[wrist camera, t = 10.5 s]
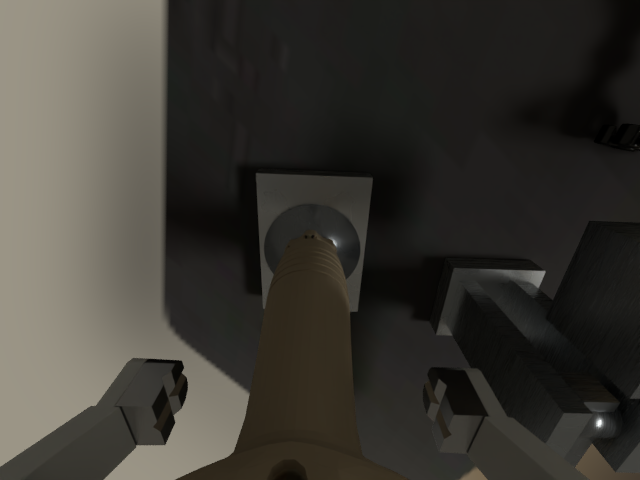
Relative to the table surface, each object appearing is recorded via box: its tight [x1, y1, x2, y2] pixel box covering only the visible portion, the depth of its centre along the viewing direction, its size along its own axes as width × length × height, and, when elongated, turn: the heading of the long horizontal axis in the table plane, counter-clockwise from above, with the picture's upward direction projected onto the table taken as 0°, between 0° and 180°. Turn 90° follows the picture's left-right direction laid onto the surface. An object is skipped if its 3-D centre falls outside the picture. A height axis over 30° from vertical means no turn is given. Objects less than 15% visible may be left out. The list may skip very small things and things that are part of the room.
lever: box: [545, 221, 640, 467], centre depth 15 cm, size 22×3×4 cm, turn 178°
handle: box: [176, 230, 409, 480], centre depth 12 cm, size 5×6×15 cm
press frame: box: [256, 168, 640, 473], centre depth 16 cm, size 12×20×11 cm, turn 88°
